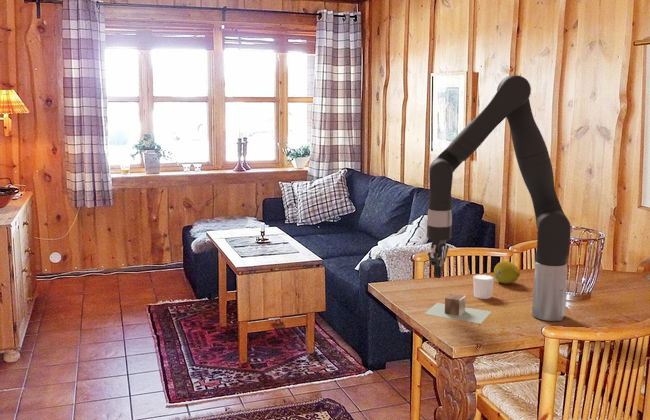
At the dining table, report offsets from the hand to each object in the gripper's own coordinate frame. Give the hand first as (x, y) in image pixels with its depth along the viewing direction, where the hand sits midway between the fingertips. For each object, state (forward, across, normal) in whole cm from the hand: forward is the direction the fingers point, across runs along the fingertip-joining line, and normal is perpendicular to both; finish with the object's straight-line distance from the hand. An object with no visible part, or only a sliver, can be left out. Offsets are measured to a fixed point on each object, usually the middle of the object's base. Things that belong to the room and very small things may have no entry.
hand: (437, 277), depth 212 cm
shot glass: (+11, +20, -9) cm, 25 cm away
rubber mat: (+11, 0, -7) cm, 13 cm away
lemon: (+11, +39, -12) cm, 42 cm away
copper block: (+8, 0, -3) cm, 9 cm away
